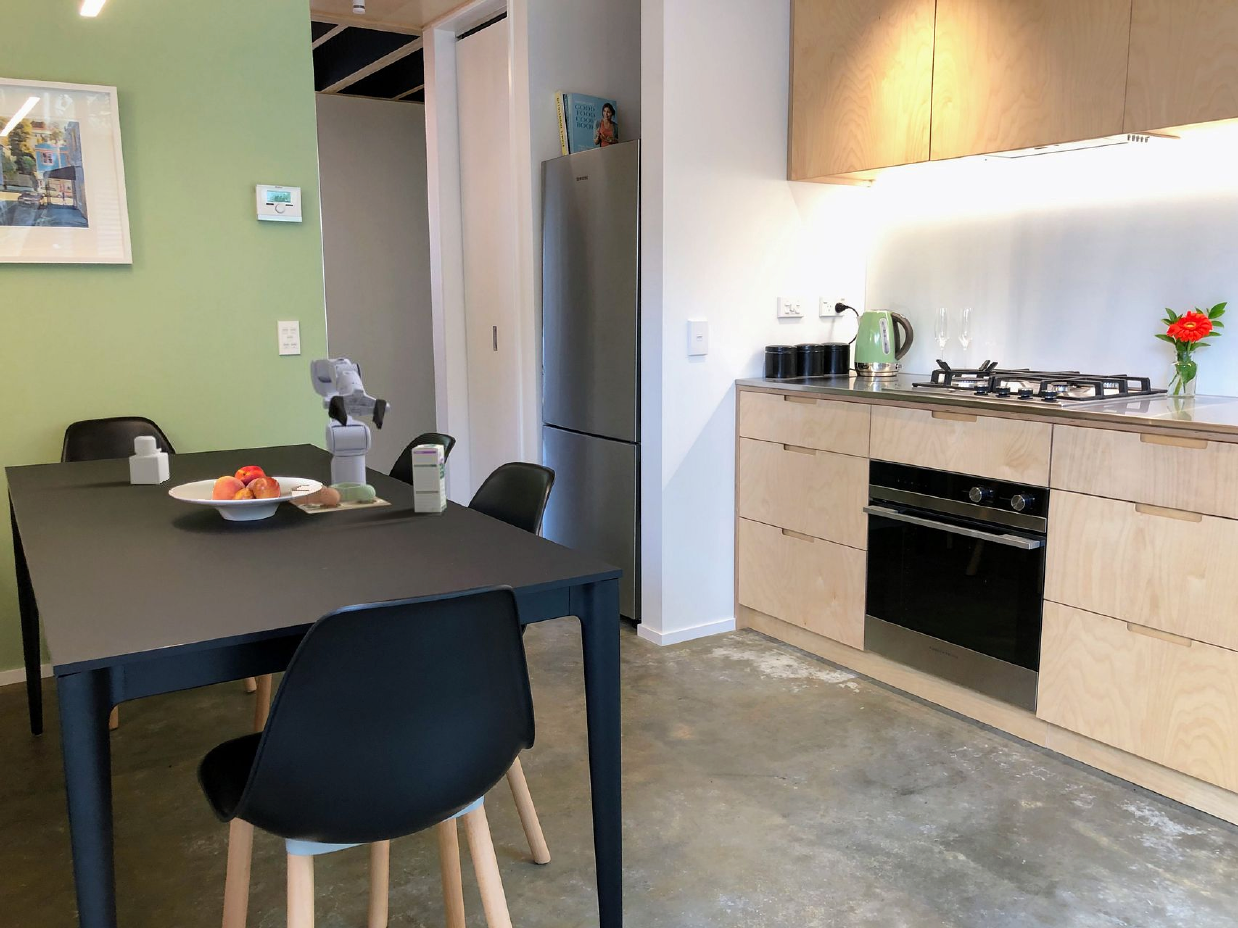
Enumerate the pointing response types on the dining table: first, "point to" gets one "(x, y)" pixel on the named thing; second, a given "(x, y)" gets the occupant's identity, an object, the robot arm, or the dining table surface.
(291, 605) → the dining table surface
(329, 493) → the terracotta ball
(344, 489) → the green octagonal ring
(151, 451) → the medicine bottle
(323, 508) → the board
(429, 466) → the syrup box
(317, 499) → the terracotta tube
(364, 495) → the sage ball
